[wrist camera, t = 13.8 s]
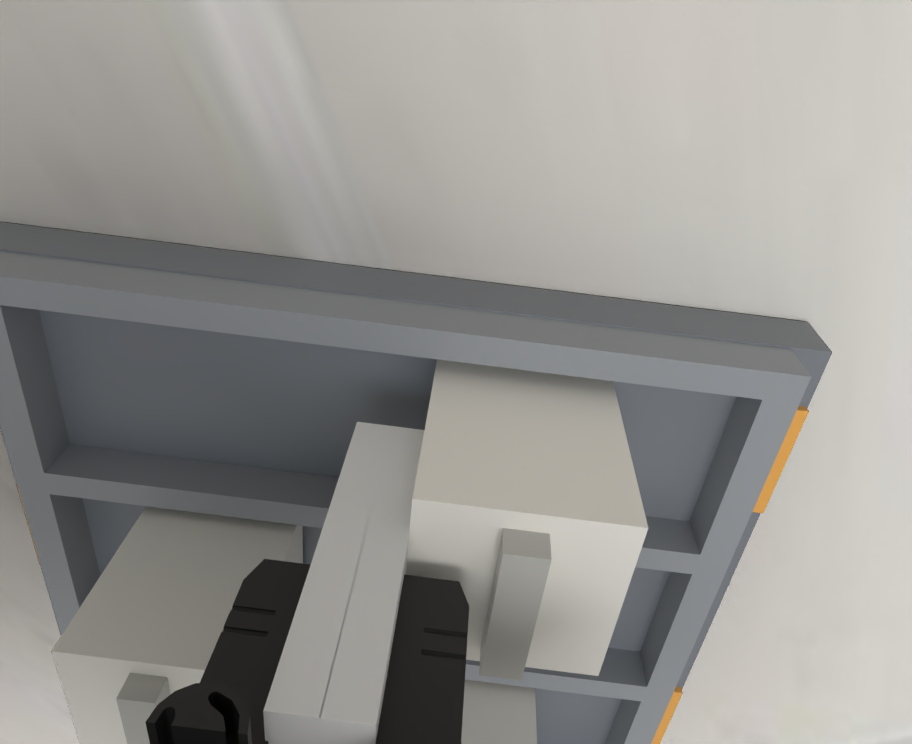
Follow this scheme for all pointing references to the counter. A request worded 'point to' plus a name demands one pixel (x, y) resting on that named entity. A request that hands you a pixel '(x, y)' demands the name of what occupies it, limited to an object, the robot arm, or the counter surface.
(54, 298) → the switch bank
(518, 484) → the tab
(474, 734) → the tab
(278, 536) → the tab
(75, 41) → the counter surface
